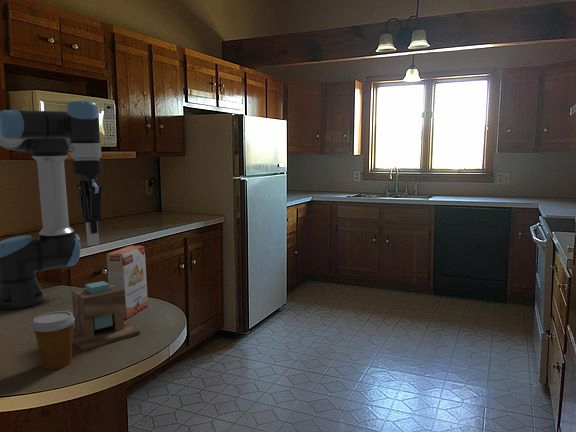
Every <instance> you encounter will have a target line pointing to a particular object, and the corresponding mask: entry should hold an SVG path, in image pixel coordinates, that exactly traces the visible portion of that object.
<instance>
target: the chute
mask: <svg viewBox="0 0 576 432" xmlns="http://www.w3.org/2000/svg"><path fill="white" fill-rule="evenodd" d="M107 283H108V284H110V291H106V292H101V293H96V294H91V295H90V294H89V293H87V292H86V287H81V288H77V289H72V290H71V300H72V301H71V302H72V311H73V313H72V314H73V317H75V320H74V323H73V325H74V327H73V340H72V344H74V345H75V346H76V347H77V348H78V349H79V350H80V351H82V352H83V351H85V350H90V349H93V348H97V347H101V346H104V345H106V344H111V343H115V342H118V341H121V340H125V339H129V338H133V337H135V336H139V335H141V331H140V329H137V328H136V327H134V326H132V325H131V324H130V323H127V321H125V319H124V317H123V311H126V300H125V290H124V289H122V288H120V287H118V286H116V285H114V284H112V283H109V282H107ZM110 314H112V320H113V325H112V326H108V327H104V328H100V329H97V330H95V329H94V327H93V319H94V318H98V317H102V316H106V315H110Z"/></svg>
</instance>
